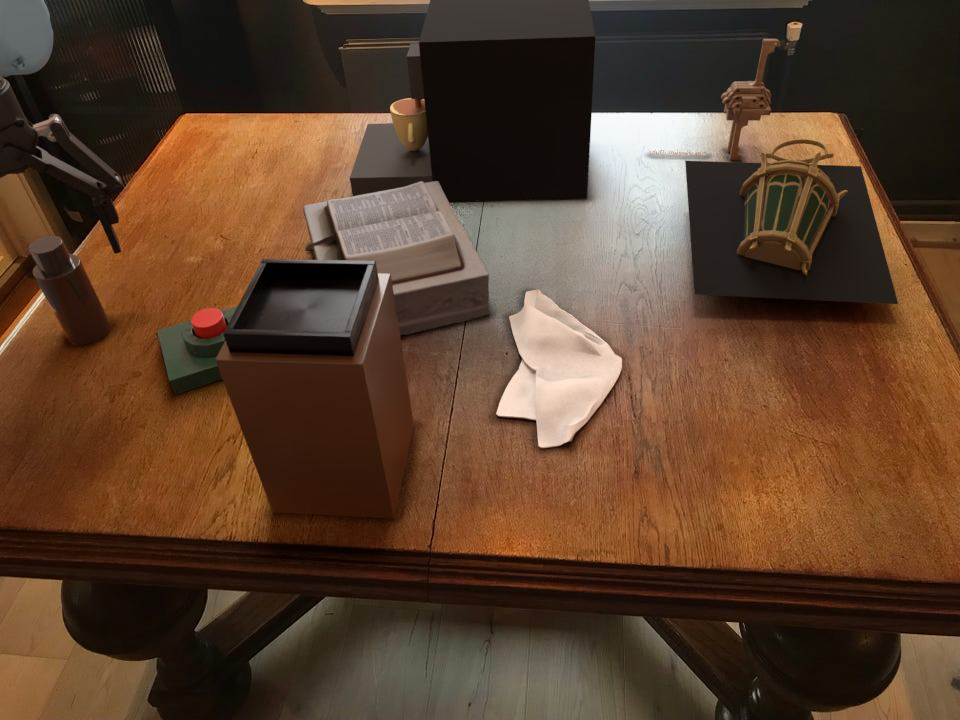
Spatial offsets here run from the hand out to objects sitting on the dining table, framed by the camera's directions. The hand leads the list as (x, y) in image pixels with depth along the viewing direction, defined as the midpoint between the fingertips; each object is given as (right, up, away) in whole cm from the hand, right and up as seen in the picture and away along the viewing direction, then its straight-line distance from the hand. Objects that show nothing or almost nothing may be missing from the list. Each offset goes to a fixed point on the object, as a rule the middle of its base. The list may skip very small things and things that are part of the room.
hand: (56, 263), depth 90 cm
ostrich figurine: (+85, +21, +33) cm, 93 cm away
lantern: (+88, +3, +13) cm, 89 cm away
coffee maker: (+48, +18, +32) cm, 61 cm away
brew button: (+18, -8, 0) cm, 20 cm away
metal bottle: (0, -8, +7) cm, 10 cm away
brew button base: (+18, -10, +2) cm, 21 cm away
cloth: (+59, -12, -2) cm, 60 cm away
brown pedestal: (+36, -22, -12) cm, 44 cm away
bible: (+38, 0, +12) cm, 40 cm away
